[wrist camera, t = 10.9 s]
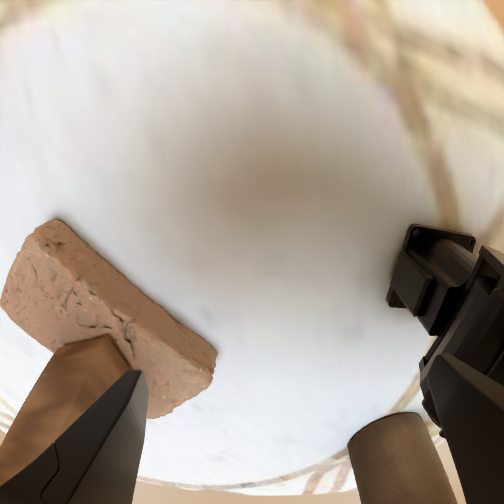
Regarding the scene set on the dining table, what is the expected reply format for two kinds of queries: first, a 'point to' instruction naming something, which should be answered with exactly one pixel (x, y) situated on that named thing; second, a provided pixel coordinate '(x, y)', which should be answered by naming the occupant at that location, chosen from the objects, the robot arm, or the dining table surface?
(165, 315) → the brick
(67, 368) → the walnut block
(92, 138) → the dining table surface
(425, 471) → the pillar candle
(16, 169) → the dining table surface
